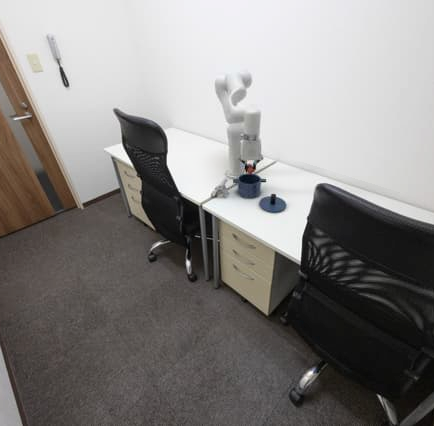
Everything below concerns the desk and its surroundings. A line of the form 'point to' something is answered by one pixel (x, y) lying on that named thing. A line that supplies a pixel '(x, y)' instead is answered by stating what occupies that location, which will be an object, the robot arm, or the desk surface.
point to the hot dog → (250, 169)
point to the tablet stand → (221, 186)
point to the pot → (249, 185)
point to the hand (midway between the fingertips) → (250, 170)
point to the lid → (272, 203)
